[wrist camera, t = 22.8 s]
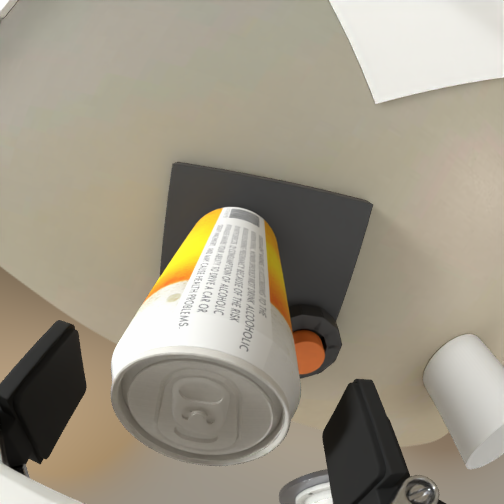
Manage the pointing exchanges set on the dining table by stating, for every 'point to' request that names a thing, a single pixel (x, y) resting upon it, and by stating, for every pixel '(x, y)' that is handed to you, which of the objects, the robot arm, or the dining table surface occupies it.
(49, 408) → the robot arm
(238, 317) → the beer can
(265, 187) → the scale
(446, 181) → the dining table surface
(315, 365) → the power button
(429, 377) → the cup
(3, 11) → the lazy susan
